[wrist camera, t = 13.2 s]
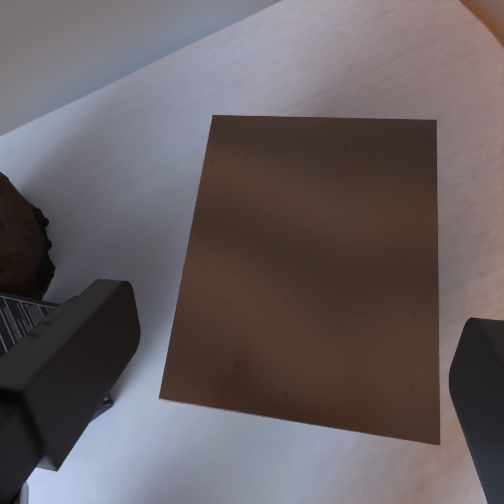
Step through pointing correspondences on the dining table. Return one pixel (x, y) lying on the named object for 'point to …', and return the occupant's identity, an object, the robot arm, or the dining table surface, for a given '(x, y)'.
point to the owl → (23, 245)
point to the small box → (27, 326)
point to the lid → (313, 276)
